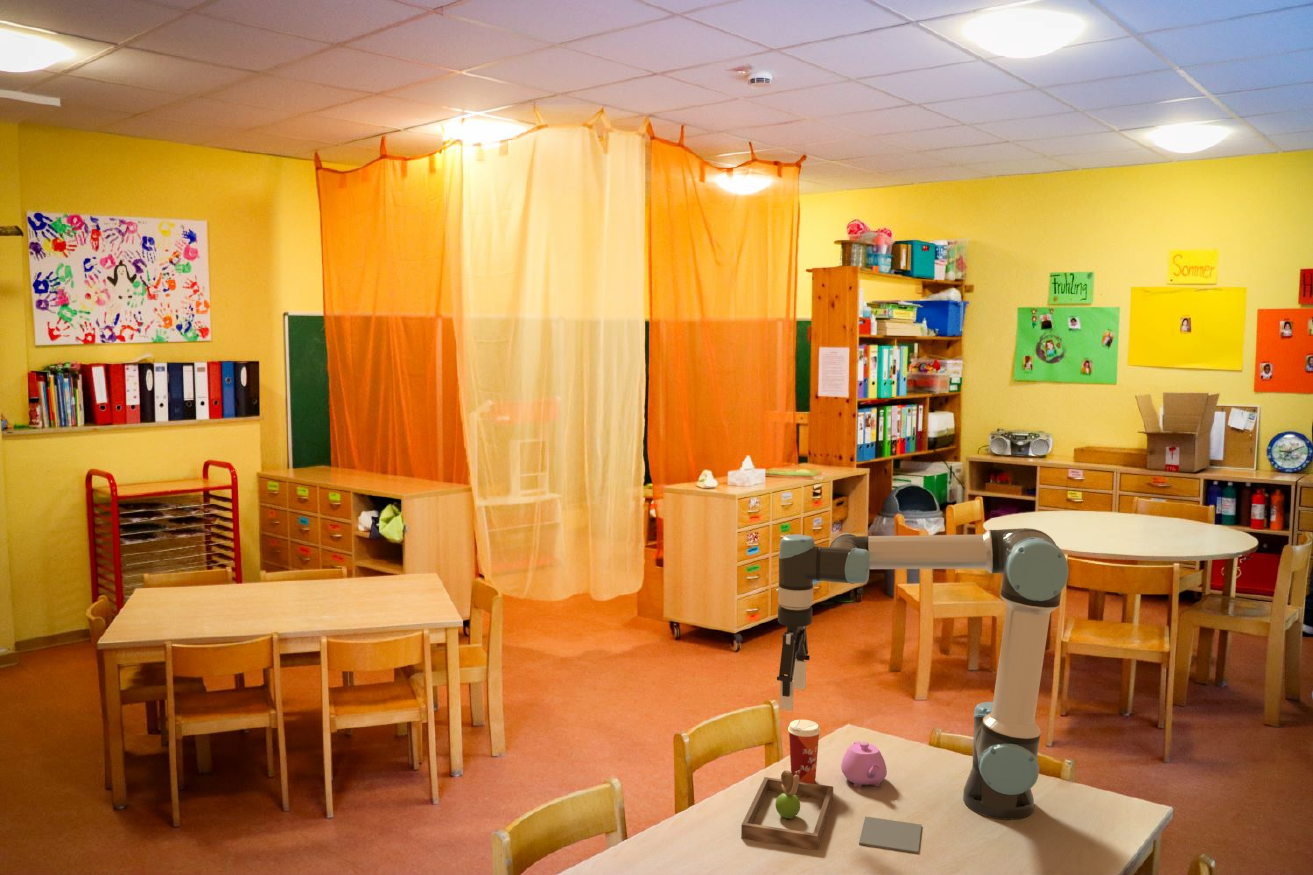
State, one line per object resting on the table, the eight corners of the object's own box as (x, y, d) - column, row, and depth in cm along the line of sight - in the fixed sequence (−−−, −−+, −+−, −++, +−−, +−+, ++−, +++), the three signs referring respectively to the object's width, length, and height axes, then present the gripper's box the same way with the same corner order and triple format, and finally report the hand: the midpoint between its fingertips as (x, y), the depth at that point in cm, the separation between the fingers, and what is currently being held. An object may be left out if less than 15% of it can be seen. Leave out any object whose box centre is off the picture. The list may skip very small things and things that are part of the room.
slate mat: (921, 826, 216) (921, 824, 216) (918, 853, 205) (918, 851, 205) (865, 817, 220) (865, 816, 220) (859, 844, 208) (859, 842, 208)
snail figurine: (787, 826, 216) (788, 773, 215) (770, 814, 221) (771, 762, 220) (807, 821, 218) (808, 768, 217) (790, 808, 224) (791, 757, 223)
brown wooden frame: (833, 798, 229) (833, 786, 228) (817, 849, 206) (817, 836, 206) (764, 789, 234) (764, 776, 233) (741, 837, 211) (741, 824, 211)
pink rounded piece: (874, 767, 245) (875, 731, 245) (897, 795, 231) (898, 756, 230) (833, 770, 244) (834, 733, 243) (854, 798, 229) (855, 759, 228)
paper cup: (809, 791, 232) (810, 733, 231) (781, 782, 237) (781, 725, 236) (825, 779, 239) (826, 723, 237) (797, 771, 243) (798, 715, 242)
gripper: (790, 590, 232) (788, 678, 235) (765, 618, 209) (763, 716, 211) (822, 593, 230) (820, 682, 232) (800, 622, 207) (798, 721, 209)
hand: (793, 698), depth 222 cm, fingers open, 13 cm apart
